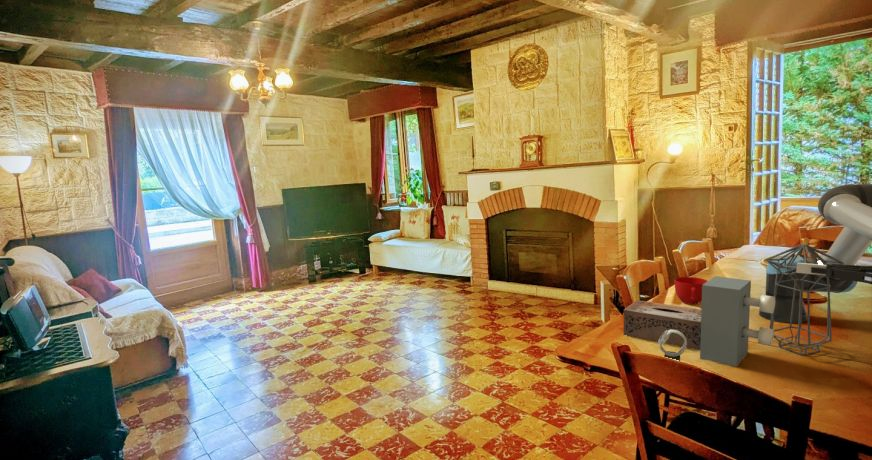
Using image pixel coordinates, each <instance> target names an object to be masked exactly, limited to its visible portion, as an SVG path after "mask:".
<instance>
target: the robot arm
mask: <svg viewBox="0 0 872 460" xmlns="http://www.w3.org/2000/svg"><path fill="white" fill-rule="evenodd" d="M817 209H818V213H819V214H820V216H821V217H822V218H824V219H825V220H826V221H827V222H829V223H831V224H834V225H837V226H839V225H840V226H844V227H843V228H842V230H841V231H840V233H839V234H838V235H837V237H836V239H835V240H834V242H833V243H832V244H831V246H830V247H829V249H828V250H827V252H824V253H825V254H827V255H829V256H831V257H833V258H835V259H838V260H840V261H842V262H843V263H844V264H843V265H840V264H836V263H833V262H827V263H826V264H827V265H824V264H823V263H822V262H821V261H820V260H818V258H817V257H816V258H817V260H818V264H816V263H815V261H814V260H812V263H813V264H809V263H808V262H807V263H805V260H804V259H803V258H802V257H801V256H797V258H796V259H795V261H794V262H793V264H792V265H791V267H797V269H794V268H790V269H791V270H792V271H793V272H796V274H795V275H796V276H797V278H798V279H802V278H803V277H804V276H805V275H806V274H808V275H807V276H806V277H805V279H804V280H807V281H812V282H816V281H817V280H818V279H819V276H818V275H822V276H823V275H825V276H827V277H829V283H830V285H831V287H830V293H833V294H840V293H849V292H851V291H852V290H853V289H855V287H856V286H857V284H858V282H859V283H864V284H869V285H872V265H857V262H858V261H860V258H862V256H863V255H864V254H865V253H866V251H867V250H868V249H869V247H870V246H871V245H872V183H860V184H859V183H857V184H851V183H850V184H843V185H838V186H835V187H832V188H830V189H829V190H827V191H826V192H825V193H823V194H822V195H821V196H820V198H819V201H818V203H817ZM789 256H790V255H788V256H786V257H784V258H787V257H789ZM819 256H820V257H822V258H823V259H824V260H828V261H835V260H833V259H830V258H828V257H826V256H824V255H822V254H820V255H819ZM781 257H782V256H777V257H774V258H772V259H779V258H781ZM784 258H783V259H784ZM790 259H791V257H790ZM790 259H788V260H787V261H786V265H787V264H788V262H789V261H790ZM792 260H793V259H792ZM783 261H784V260H780V261H779V263H782V262H783ZM808 261H809V262H810V263H811V261H810V260H808ZM774 262H778V261H774ZM773 265H774V264H773ZM777 265H778V264H777ZM782 265H784V263H783V264H782ZM774 266H775V265H774ZM780 266H781V265H780ZM775 267H777V266H775ZM777 268H778V267H777ZM790 269H789V268H788V270H789V274H790V273H792V272H791V270H790ZM780 270H781V272H782V273H787V268H780ZM765 273H766V274H765V275H766V276H765V277H766V279H765V295H766V296H773V297H774V291H775V280H776V274H777V270H776V269H775V268H774V267H773V266H771V265H770V264H769V263H768V262H767V264H766V270H765ZM782 275H783V274H780V273H778V279H777V282H779V280H780V278H781V276H782ZM795 275H794V274H793V275H792V277H793V278H794V279H797V278H796V277H795ZM790 279H792V278H791V277H790V275H783V277H782V279H781V281H785V280H790ZM817 283H821V284H825V285H827V278H826V277H823V278H820V280H819V281H818V282H817ZM797 284H798V285H799V287H800V288H801V286H802V281H797ZM814 284H815V283H811V282H806V281H804V285H803V290H805V291H809V289H810V288H811V287H812V286H813V285H814ZM778 285H782V286H786V287H790V288H794V285H795V283H794V281H793V280H791V281H786V282H780V283H779V284H778ZM782 286H777V293H776V302H775V313H774V322H780V323H789V324H790V319H791V311H792V302H793V294H794V290H793V289H790V288H786V287H782ZM826 287H827V286H824V285H820V284H815V285H814V287H813V288H812V289H811V290H816V289H821V288H826ZM796 289H798V287H797V286H796ZM798 290H799V289H798ZM814 292H815V293H828V291H827V289H822V290H817V291H812V292H811V293H814ZM799 303H800V291H797V290H796V294H795V302H794V310H793V319H792V324H798V322H799ZM771 314H772V313H767V312H761V311H760V308H759V307H758V315H759V316H760V317H762V318H764V319H766V320H771ZM805 322H808V311H807V308H806V306H805V302H803V304H802V323H805Z"/></svg>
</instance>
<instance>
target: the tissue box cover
mask: <svg viewBox="0 0 872 460" xmlns="http://www.w3.org/2000/svg"><path fill="white" fill-rule="evenodd" d="M701 310H702V308H701V309H700V308H694V307H687V306H681V305H672V304H667V303H659V302H651V301H647V300H646V301H645V300H639V299H636V300H635V301H633V302H632V303H631V304H630V305H628V306H627V307H626V308H624V309H623V336H624V335H627V336H626V337H629V336H630V338H635V339H640V340H646V341H651V342H655V343H658V341H659V339H660V337H661V335H662V334H663V333H664V332H665V331H666V330H667V331H668V330H671V329H673V330H678V331H680V332H681V333H683V334H684V336H685V337H686V340H687V347H686V349H692V350H696V351H700V342H701ZM684 342H685V340H684V338H683V337H682V336H680V334H677V333H671V334H670V336H669V338H668V340H667V341H666V342H665V343H664V344H667V345H671V346H675V347H681V348H682V346H683V345H684Z"/></svg>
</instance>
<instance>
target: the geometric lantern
mask: <svg viewBox="0 0 872 460" xmlns="http://www.w3.org/2000/svg"><path fill="white" fill-rule="evenodd" d="M825 253H826V252H823V251H820V249H817V248H815V247H813V246H810V245H809V244H804V243H800V244H798V245H796V246H794V247H791V248H789V249H786V250H784V251H782V252H779V253H777V254H774V255H772V256H770V257H767V258H765V259H764V262H767V263H769V264H770V265H771V266H773V267H774V268H775V269H776V270H777V274H776V280H775V291H774V297H775V302H776V293H777V286H782V285H778V284H779V283H780V282H786V281H791V280H793V281H794V283H795V285H794V288H790V287H786V286H782V287H786V288H790V289H793V290H794V294H793V302H792V311H791V319H790V323H789V326H786V327H780V328H778V329H774V323H775V321H774V313H775V309H774V312H773V313H772V314H771V320H770V319H769V320H770V322H769V328H770V329H773V331H774V332H779V331H783V330H786V329H789V330H790V331H789V332H790V335H791V336H789V337H785V338H784V337H782V336H779V335H777V334H774V335H773V339H775V340H776V341H777V342H778V345H777V347H778V348H780V349H783V350H785V351H789V352H790V353H791V352H792V353H795V354H798V355H800V356H807V355H811V354H814V353H819V352H820V346H822V345H824V344H827V343H830V342H832V341H833V338H832V337H833V335H832V315H831V313H832V312H831V292H830V287H831V285H830V283H829V277H827V276H825V275H823V276H822V275H818V276H819V279H818V280H817V281H816V282H812V281H807V280H804V279H805V277H806V276H807V275H808V274H806V275H805V276H804V277H803V278H802V279H798V278H797V276H796V275H795V274H796V272H793V271H792V270H791V269H790V268H794V269H797V267H791V265H792V264H793V262H794V261H795V259H796V258H797V257H802V258H803V259H804V260H805V263H807V262H808V263H809V264H813V263H812V261H815V263H816V264H818V260H820V261H821V262H822V263H823V264H824V265H827V264H826V263H827V262H833V263H836V264H840V265H843V264H844V263H843V262H842V261H840V260H838V259H835V258H833V257H831V256H829V255H827V254H825ZM819 254H820V255H821V254H822V255H824V256H826V257H828V258H830V259H833V260H835V261H828V260H824V259H823V258H822V257H820V255H819ZM781 255H783V256H781ZM807 255H808V256H807ZM787 256H789V257H787ZM777 257H781V258H779V259H773V258H777ZM784 257H787V258H784ZM790 257H791V259H790ZM783 258H784V259H783ZM817 258H818V260H817ZM788 259H790V261H789V262H788V264H787V265H786V261H787V260H788ZM792 259H793V260H792ZM808 259H809V260H808ZM780 260H784V261H783V262H782V263H779V261H780ZM774 261H778V262H774ZM809 261H811V263H810V262H809ZM783 263H784V265H782V264H783ZM773 264H774V265H775V266H777V267H778V268H777V267H775V266H774V265H773ZM777 264H778V265H777ZM780 265H781V266H780ZM780 268H787V273H782V272H781V270H780ZM788 268H789V269H790V270H791V272H792V273H790V274H789V270H788ZM778 273H780V274H783V275H790V277H791V278H792V279H790V280H785V281H781V279H782V277H783V275H782V276H781V278H780V280H779V282H777V279H778ZM793 274H794V275H795V277H796V278H797V279H794V278H793V277H792V275H793ZM823 277H826V278H827V285H825V284H821V283H817V282H818V281H819V280H820V278H823ZM797 281H802V286H801V288H800V287H799V285H798V284H797ZM804 281H806V282H811V283H815V284H820V285H824V286H827V287H826V288H821V289H816V290H811V289H812V288H813V287H814V285H815V284H814V285H813V286H812V287H811V288H810V289H809V291H805V290H803V285H804ZM796 286H797V287H798V289H799V290H798V289H796ZM822 289H827V291H828V292H827V309H826V311H827V314H826V315H827V320H826V322H827V323H826V335H825V334H822V333H819V332H816V331H813V330H811V321H810V320H811V319H810V318H811V313H810V311H811V309H810V308H811V307H810V306H811V305H810V302H811V301H810V296H811V295H810V293H813V292H812V291H817V290H822ZM796 290H797V291H800V303H799V322H798V323H797V324H798V325H797V326H793V325H792V324H793V323H792V319H793V310H794V302H795V294H796ZM804 293H806V294H807V296H806V299H807V308H806V310H807V329H806V328H804V327H802V323H803V322H802V304H803V303H804V300H803V299H804ZM792 329H797V332H796V334H795V336H794V333H793V330H792ZM801 330H802V331H805V332H807V339H804V338H801ZM811 334H814V335H818V336H821V337H823V339H821V340H820V341H818V342H815V341H812V340H811ZM779 339H780V340H779ZM793 339H794V341H793ZM826 339H828V340H826ZM801 340H802V341H805V342H807V343H800V341H801ZM783 341H786V342H783ZM792 344H794V345H792ZM795 345H796V346H795ZM783 346H789V347H793V348H795V349H798V350H800V352H798V351H794V350H791V349H789V348H785V347H783ZM797 346H798V347H797ZM802 347H805V348H802ZM812 348H813V349H812ZM810 349H812V350H814V351H811V352H807V350H810ZM815 349H816V350H815ZM803 351H804V353H803Z"/></svg>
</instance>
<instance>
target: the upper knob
mask: <svg viewBox="0 0 872 460" xmlns="http://www.w3.org/2000/svg"><path fill="white" fill-rule="evenodd" d="M743 305H750V307H751V306H752V307H756V308H757V307H758V309H759V308H760V311H761V312H767V313H773V312H774V309H775V297H773V296H766V295H764V294H761V296H760V298H757V297H756V298H754V297H750V298H749V297H744V299H743Z"/></svg>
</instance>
